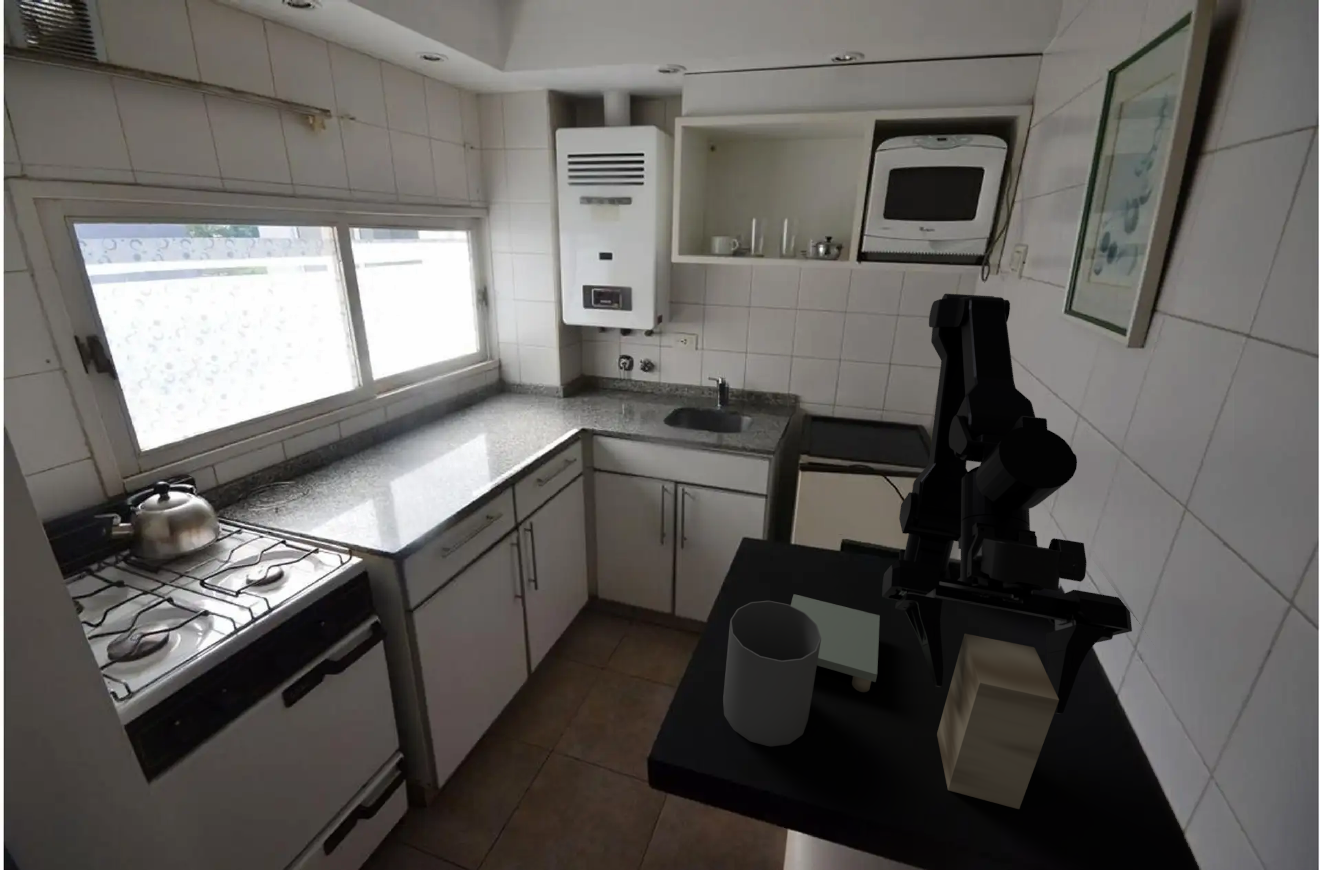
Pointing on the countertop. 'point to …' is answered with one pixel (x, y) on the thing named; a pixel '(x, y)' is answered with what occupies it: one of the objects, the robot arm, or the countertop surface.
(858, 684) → the peg shelf
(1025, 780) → the beech block
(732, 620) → the cup
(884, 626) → the countertop surface
